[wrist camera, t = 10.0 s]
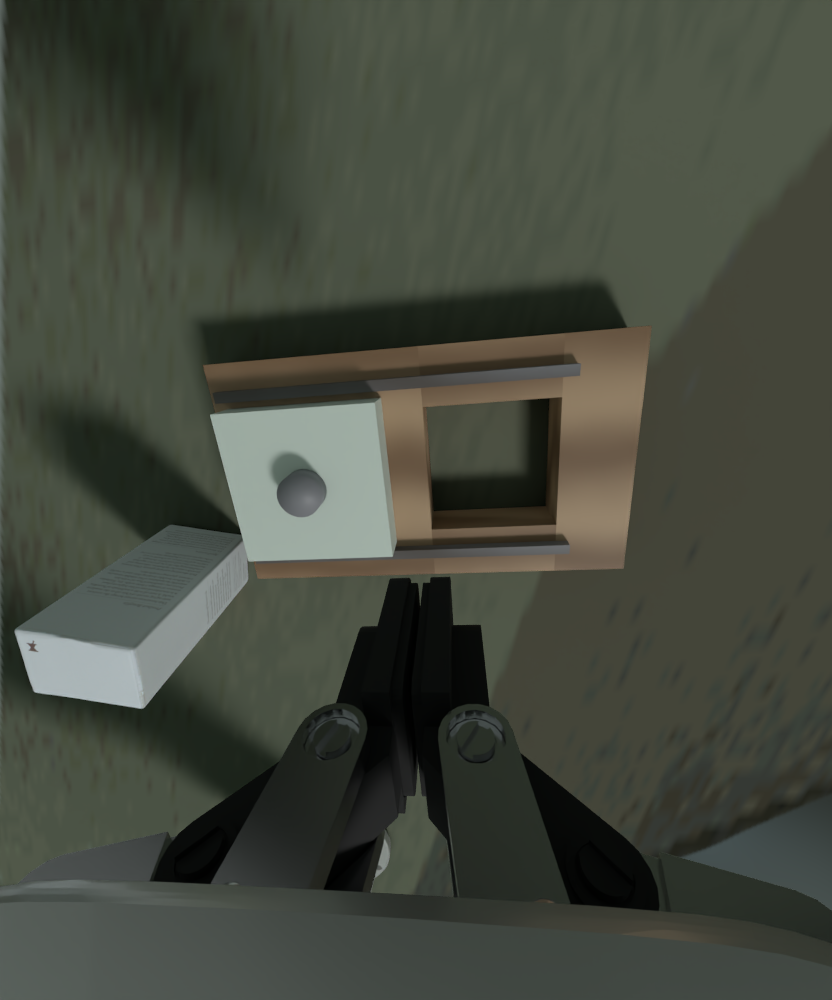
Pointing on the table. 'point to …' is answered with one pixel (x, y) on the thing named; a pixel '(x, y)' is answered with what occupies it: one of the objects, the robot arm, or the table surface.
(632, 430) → the brown wooden sliding box
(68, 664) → the skincare box
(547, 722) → the table surface
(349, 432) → the lid
